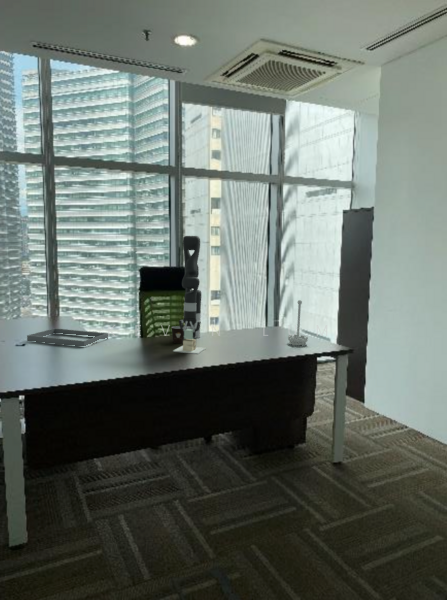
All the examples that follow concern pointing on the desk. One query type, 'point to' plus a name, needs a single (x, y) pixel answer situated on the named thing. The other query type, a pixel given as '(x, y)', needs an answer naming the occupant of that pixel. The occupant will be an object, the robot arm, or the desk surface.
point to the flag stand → (296, 338)
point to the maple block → (189, 344)
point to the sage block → (188, 334)
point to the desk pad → (196, 351)
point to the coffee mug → (177, 334)
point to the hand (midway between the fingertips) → (189, 337)
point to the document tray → (39, 338)
